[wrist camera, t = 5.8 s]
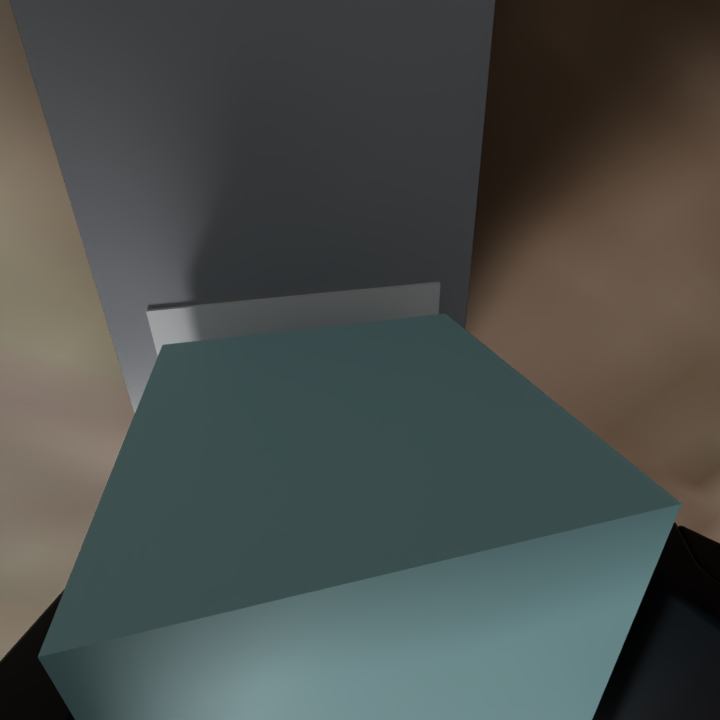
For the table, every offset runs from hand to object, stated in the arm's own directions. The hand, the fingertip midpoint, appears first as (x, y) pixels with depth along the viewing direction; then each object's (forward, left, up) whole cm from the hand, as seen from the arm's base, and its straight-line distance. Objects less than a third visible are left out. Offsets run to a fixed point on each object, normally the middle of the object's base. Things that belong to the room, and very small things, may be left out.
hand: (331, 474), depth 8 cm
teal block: (0, 0, -1) cm, 1 cm away
